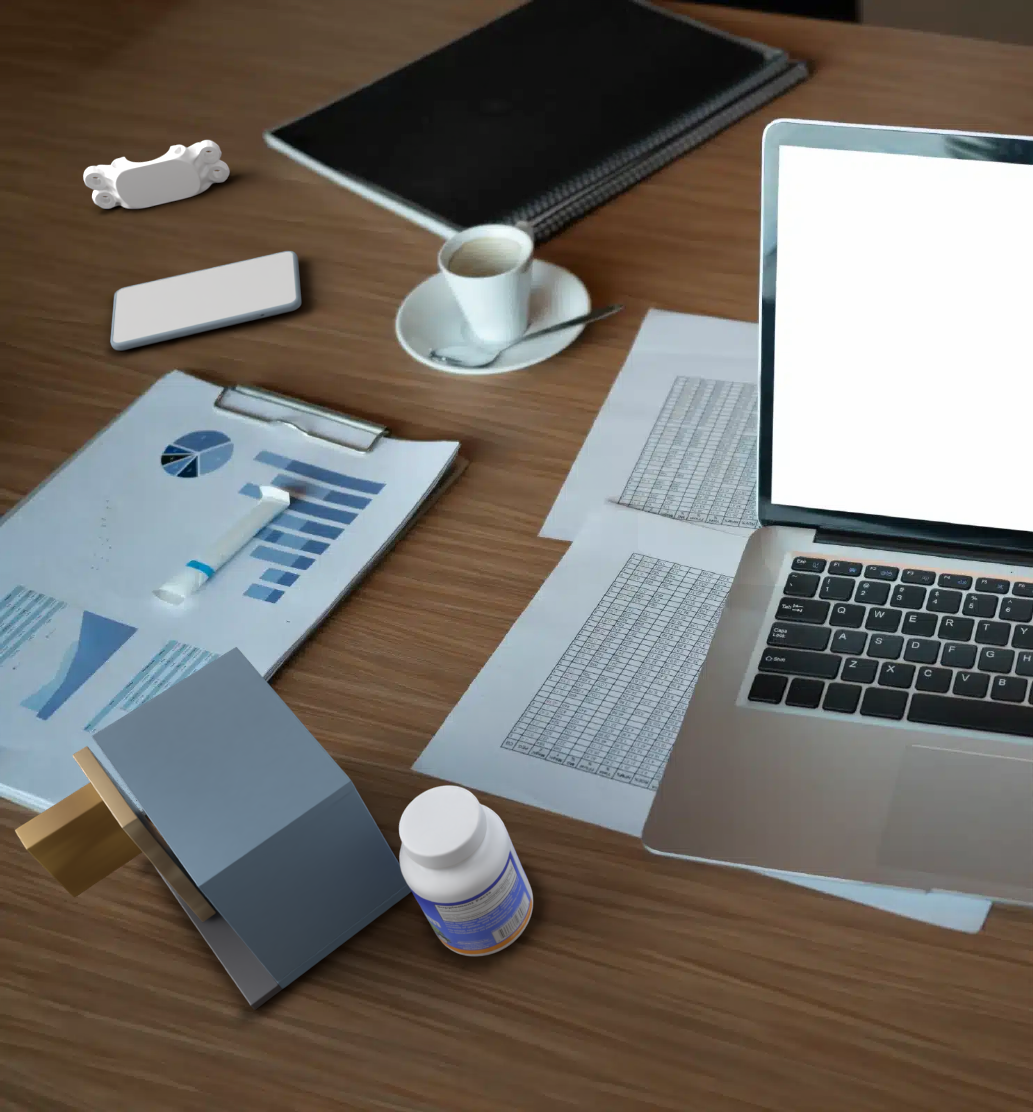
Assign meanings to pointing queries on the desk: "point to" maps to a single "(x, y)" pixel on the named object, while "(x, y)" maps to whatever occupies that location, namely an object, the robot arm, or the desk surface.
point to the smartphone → (205, 300)
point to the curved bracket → (157, 177)
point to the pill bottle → (464, 871)
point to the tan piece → (102, 838)
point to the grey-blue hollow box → (255, 823)
